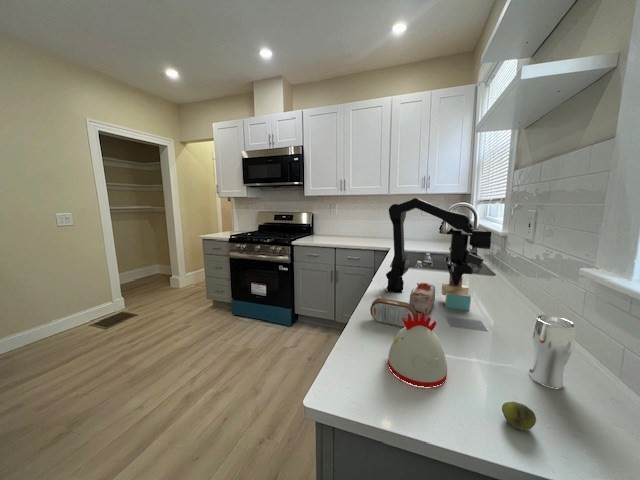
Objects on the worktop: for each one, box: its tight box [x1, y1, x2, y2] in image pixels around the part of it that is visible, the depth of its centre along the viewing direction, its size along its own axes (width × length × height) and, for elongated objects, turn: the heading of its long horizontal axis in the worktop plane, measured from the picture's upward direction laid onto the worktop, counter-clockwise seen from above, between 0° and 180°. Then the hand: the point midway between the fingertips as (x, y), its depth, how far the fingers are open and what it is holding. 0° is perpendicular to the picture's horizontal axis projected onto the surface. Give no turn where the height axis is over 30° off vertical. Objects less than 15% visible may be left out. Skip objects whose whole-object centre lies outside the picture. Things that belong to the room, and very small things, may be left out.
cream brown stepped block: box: [441, 274, 469, 296], centre depth 100 cm, size 9×2×8 cm, turn 74°
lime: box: [501, 401, 537, 431], centre depth 46 cm, size 4×5×5 cm
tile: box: [444, 292, 472, 311], centre depth 95 cm, size 8×2×6 cm, turn 74°
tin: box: [369, 297, 417, 328], centre depth 84 cm, size 15×3×8 cm, turn 65°
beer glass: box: [528, 314, 577, 389], centre depth 57 cm, size 7×7×15 cm
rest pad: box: [445, 316, 489, 332], centre depth 84 cm, size 11×7×1 cm, turn 74°
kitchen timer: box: [387, 311, 448, 387], centre depth 62 cm, size 14×14×15 cm
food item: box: [408, 282, 436, 315], centre depth 96 cm, size 14×8×10 cm, turn 148°
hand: (455, 284), depth 100 cm, fingers closed on cream brown stepped block, 2 cm apart
